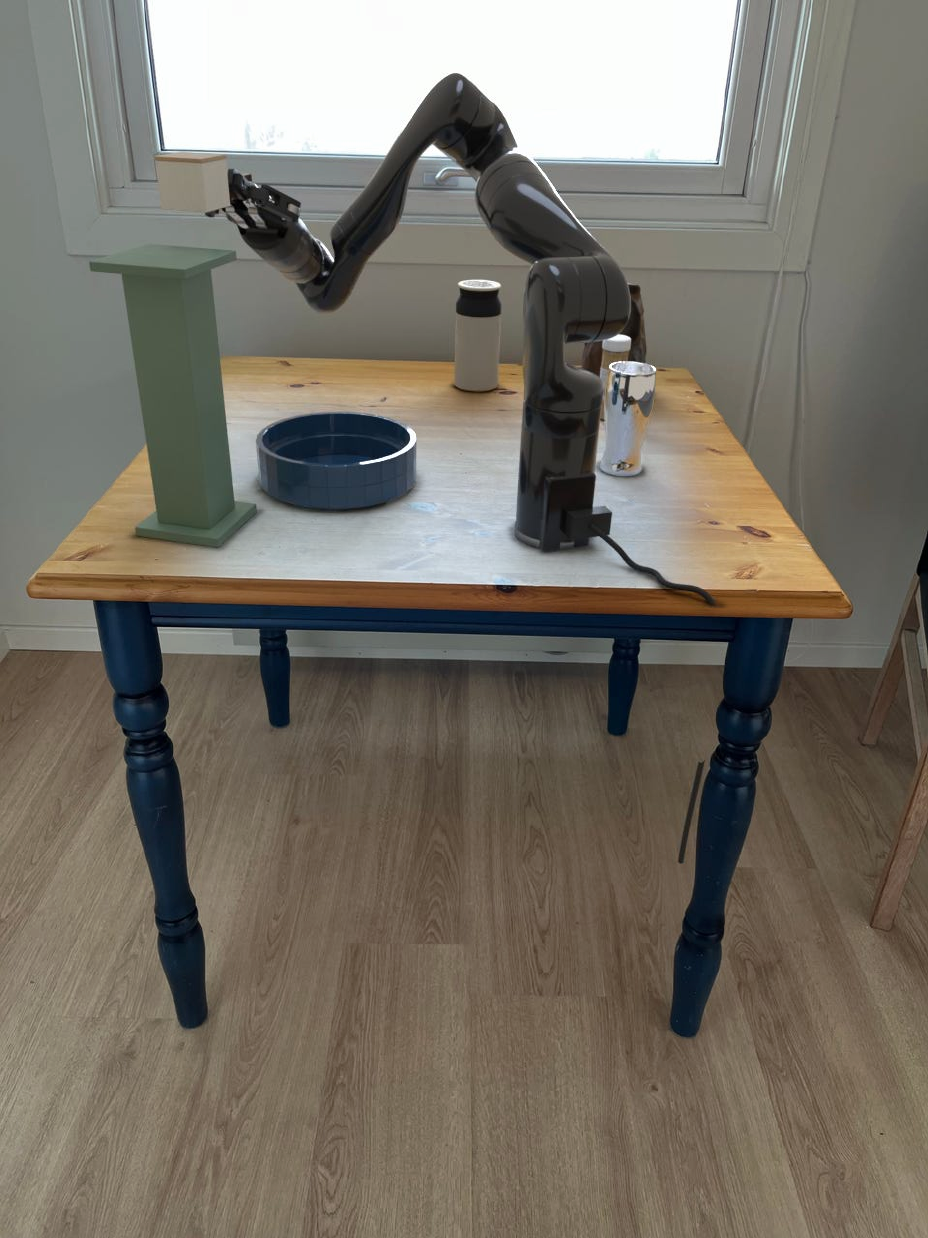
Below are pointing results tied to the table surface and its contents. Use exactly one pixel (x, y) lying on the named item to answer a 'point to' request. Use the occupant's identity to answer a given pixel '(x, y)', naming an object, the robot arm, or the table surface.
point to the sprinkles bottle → (613, 358)
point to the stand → (180, 390)
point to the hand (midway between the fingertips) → (221, 175)
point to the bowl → (336, 460)
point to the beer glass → (627, 416)
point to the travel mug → (477, 335)
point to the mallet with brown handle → (194, 181)
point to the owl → (632, 330)
